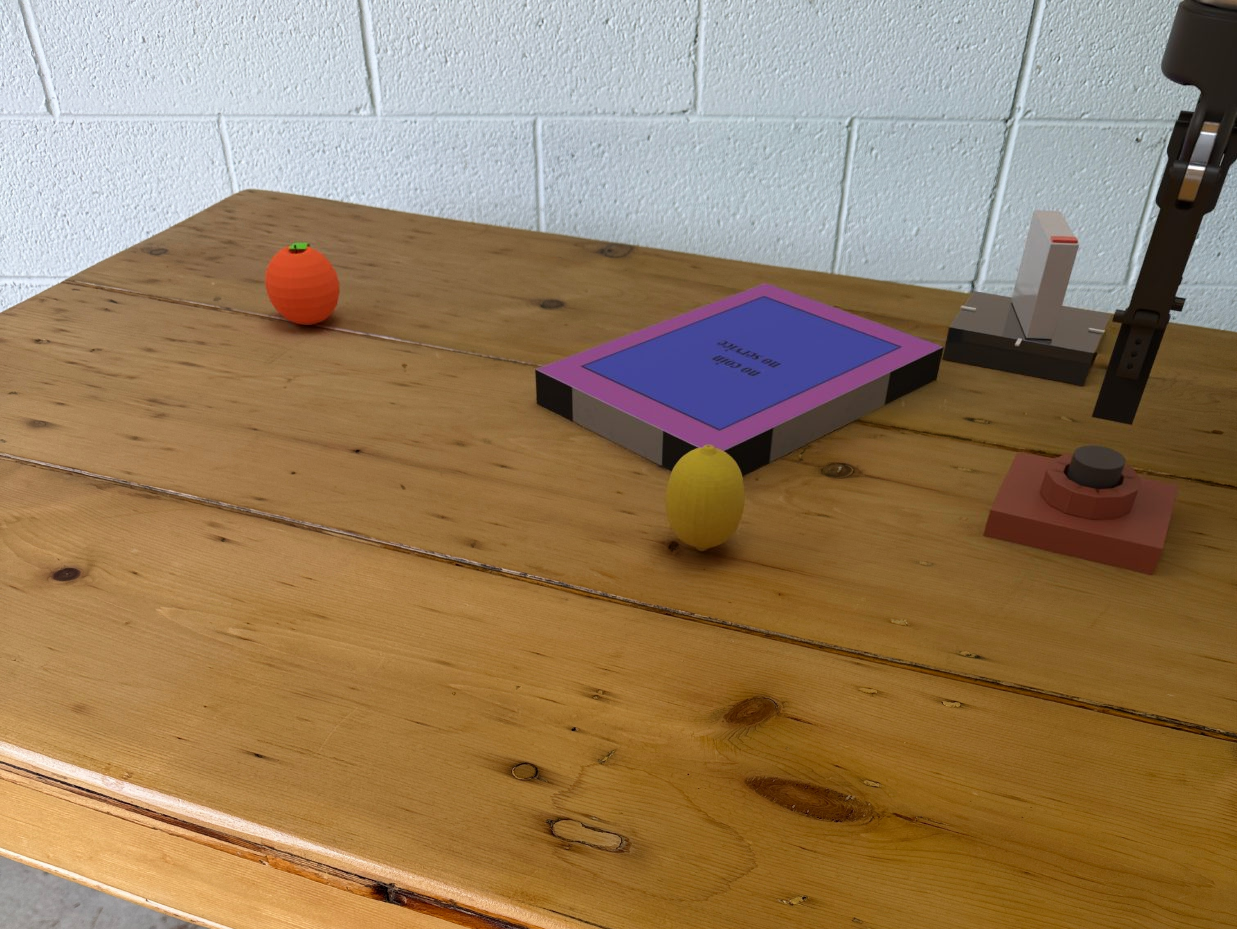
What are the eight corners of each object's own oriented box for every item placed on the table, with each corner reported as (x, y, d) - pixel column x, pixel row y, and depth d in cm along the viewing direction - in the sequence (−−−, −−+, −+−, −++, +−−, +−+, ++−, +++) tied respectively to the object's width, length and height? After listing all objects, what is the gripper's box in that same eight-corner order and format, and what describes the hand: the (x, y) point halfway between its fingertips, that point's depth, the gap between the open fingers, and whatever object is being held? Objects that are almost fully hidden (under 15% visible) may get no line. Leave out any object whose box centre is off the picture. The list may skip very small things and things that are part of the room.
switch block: (1168, 511, 85) (1187, 462, 82) (1152, 575, 78) (1172, 525, 76) (1010, 477, 88) (1024, 429, 86) (982, 536, 82) (996, 486, 79)
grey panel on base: (1010, 300, 107) (1034, 206, 101) (1036, 302, 106) (1061, 207, 101) (1025, 338, 100) (1051, 240, 94) (1052, 339, 100) (1080, 241, 94)
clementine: (286, 304, 112) (271, 228, 107) (354, 305, 112) (342, 229, 107) (265, 335, 107) (248, 257, 102) (336, 337, 107) (323, 258, 102)
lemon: (746, 536, 82) (756, 433, 76) (731, 576, 78) (740, 470, 72) (673, 525, 83) (678, 422, 77) (655, 564, 79) (658, 459, 73)
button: (1121, 474, 81) (1129, 451, 80) (1113, 496, 79) (1122, 473, 78) (1071, 463, 83) (1078, 441, 81) (1062, 485, 80) (1069, 462, 79)
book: (943, 346, 99) (714, 455, 84) (936, 379, 101) (711, 491, 86) (766, 282, 110) (535, 369, 95) (763, 314, 112) (536, 403, 97)
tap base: (1104, 340, 108) (1115, 306, 105) (1082, 393, 99) (1093, 357, 97) (969, 316, 112) (976, 283, 109) (936, 365, 103) (944, 331, 101)
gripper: (1327, 26, 55) (1158, 469, 72) (1333, -18, 64) (1182, 384, 81) (1168, 12, 57) (1040, 445, 74) (1195, -29, 66) (1076, 364, 83)
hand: (1114, 412), depth 77 cm, fingers closed
